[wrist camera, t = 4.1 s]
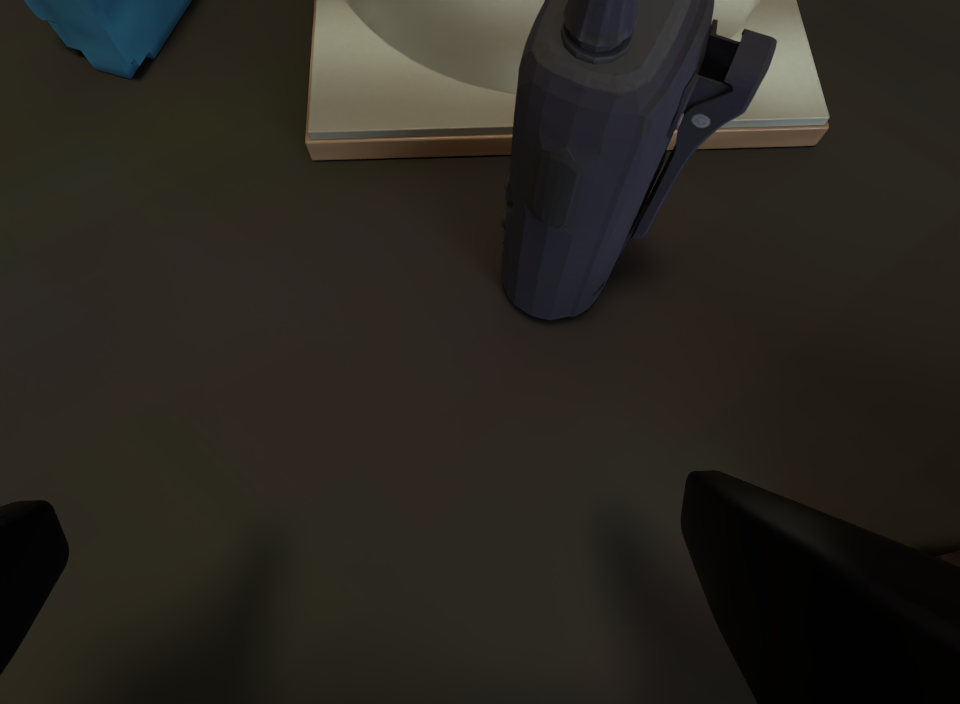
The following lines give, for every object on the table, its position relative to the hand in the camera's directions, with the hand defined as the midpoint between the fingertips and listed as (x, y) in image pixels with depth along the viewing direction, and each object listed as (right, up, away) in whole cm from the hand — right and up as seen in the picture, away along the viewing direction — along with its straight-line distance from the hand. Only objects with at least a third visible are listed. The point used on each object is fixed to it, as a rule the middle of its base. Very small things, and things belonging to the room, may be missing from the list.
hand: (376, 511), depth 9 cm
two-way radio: (+5, +5, +12) cm, 14 cm away
